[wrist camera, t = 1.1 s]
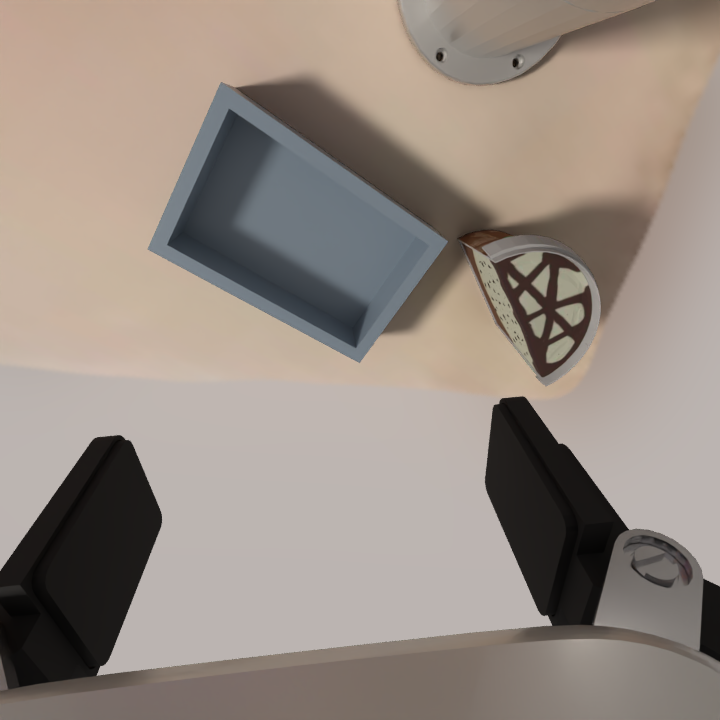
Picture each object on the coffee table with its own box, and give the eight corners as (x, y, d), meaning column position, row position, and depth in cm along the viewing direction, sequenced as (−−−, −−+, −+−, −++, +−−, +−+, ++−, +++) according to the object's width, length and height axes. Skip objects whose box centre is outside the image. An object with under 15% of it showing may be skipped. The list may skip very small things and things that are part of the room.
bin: (234, 87, 31) (221, 81, 26) (432, 227, 37) (448, 241, 32) (168, 233, 35) (147, 249, 31) (355, 337, 41) (359, 362, 37)
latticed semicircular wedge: (560, 304, 41) (625, 354, 32) (500, 335, 42) (547, 391, 33) (518, 184, 36) (583, 204, 27) (450, 223, 37) (491, 255, 28)
